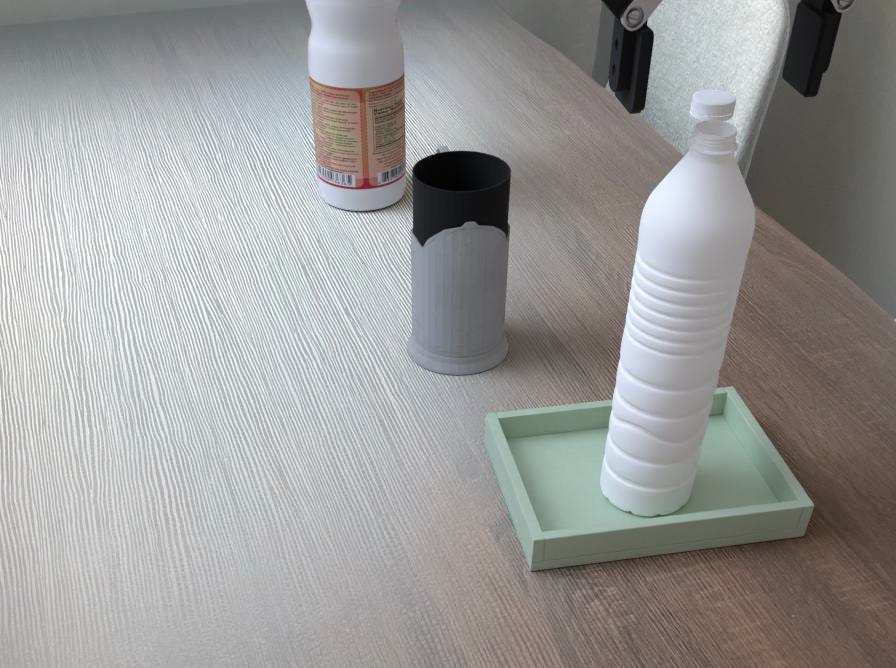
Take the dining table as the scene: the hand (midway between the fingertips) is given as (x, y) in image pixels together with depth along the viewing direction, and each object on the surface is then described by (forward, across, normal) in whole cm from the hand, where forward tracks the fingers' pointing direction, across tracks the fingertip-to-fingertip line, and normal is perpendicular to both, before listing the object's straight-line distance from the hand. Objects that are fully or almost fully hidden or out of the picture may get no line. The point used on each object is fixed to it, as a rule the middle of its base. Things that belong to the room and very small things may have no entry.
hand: (714, 96), depth 56 cm
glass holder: (+27, +10, -24) cm, 37 cm away
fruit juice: (+27, +14, -53) cm, 61 cm away
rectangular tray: (+27, +1, 0) cm, 27 cm away
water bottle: (+26, 0, 0) cm, 26 cm away
